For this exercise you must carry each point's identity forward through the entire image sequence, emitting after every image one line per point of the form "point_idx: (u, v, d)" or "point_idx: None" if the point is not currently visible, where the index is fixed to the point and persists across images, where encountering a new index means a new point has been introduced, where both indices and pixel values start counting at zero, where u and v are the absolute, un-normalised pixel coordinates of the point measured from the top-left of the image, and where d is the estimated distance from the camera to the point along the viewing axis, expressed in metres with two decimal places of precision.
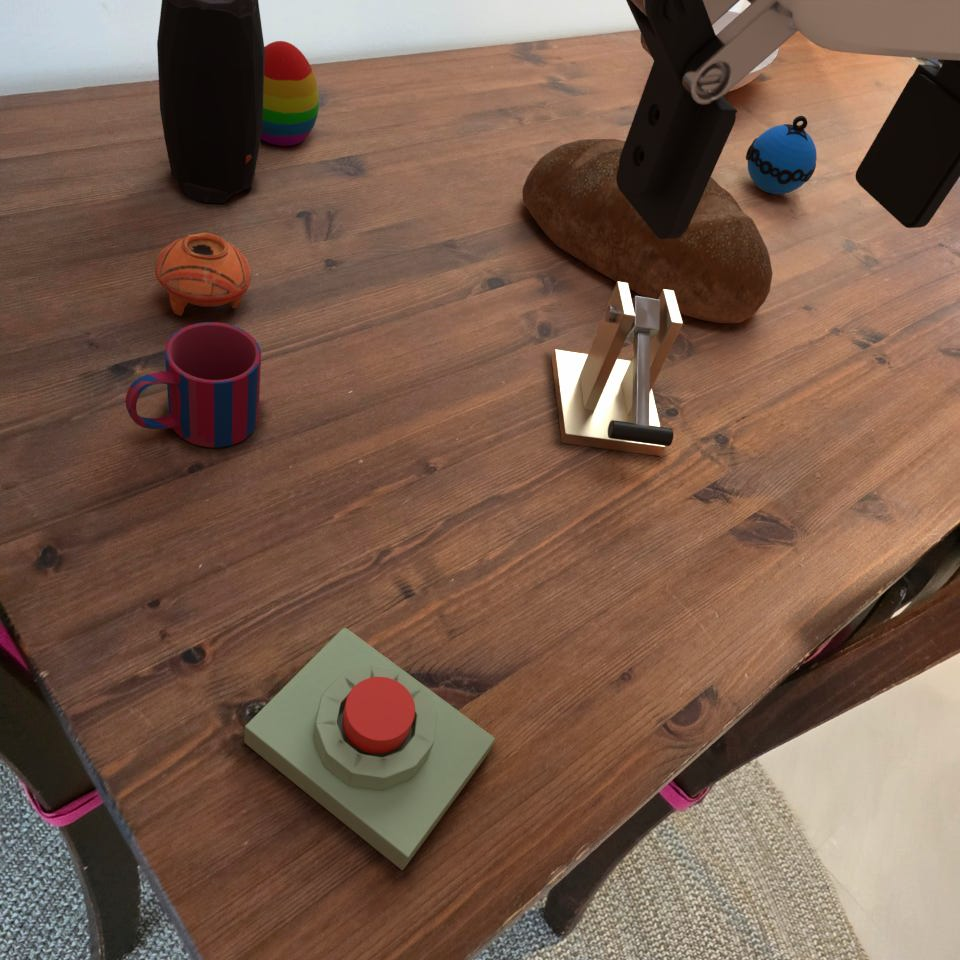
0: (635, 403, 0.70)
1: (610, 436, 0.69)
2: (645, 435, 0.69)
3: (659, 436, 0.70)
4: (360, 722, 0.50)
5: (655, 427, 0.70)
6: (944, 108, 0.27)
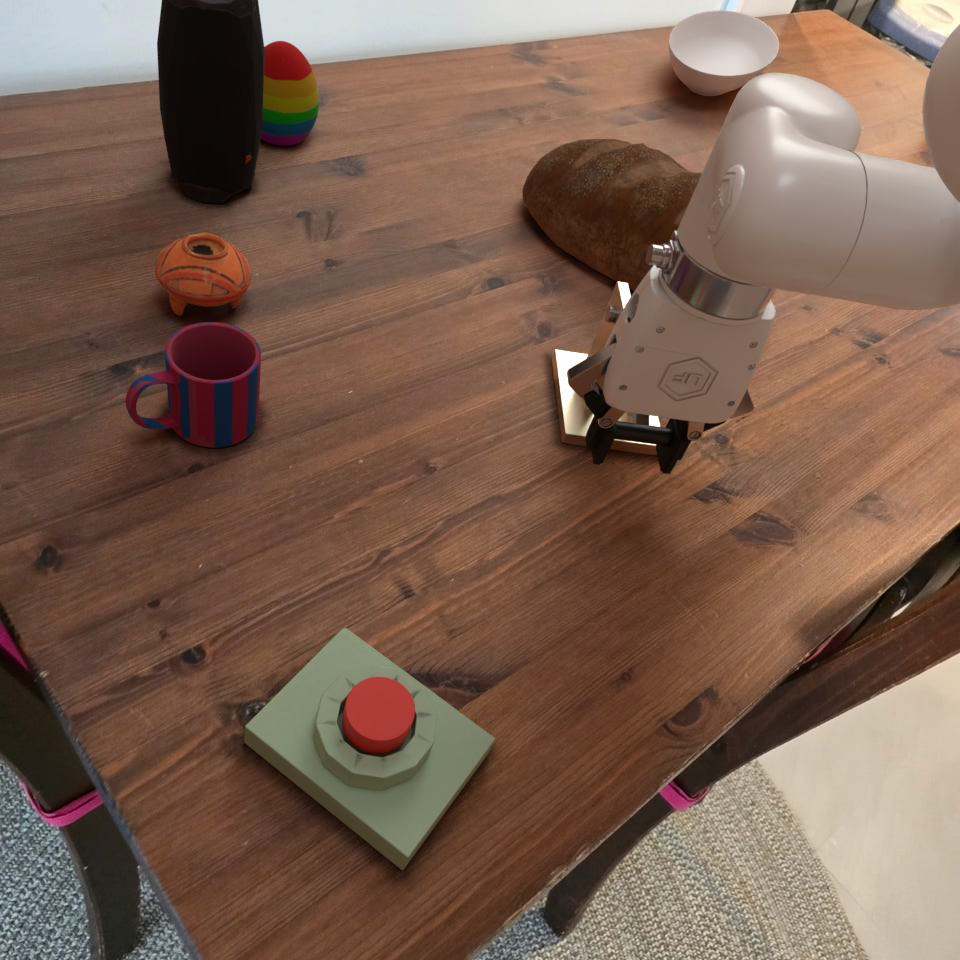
0: None
1: None
2: (645, 435, 0.69)
3: (659, 436, 0.70)
4: (360, 722, 0.50)
5: (655, 427, 0.70)
6: (674, 433, 0.70)
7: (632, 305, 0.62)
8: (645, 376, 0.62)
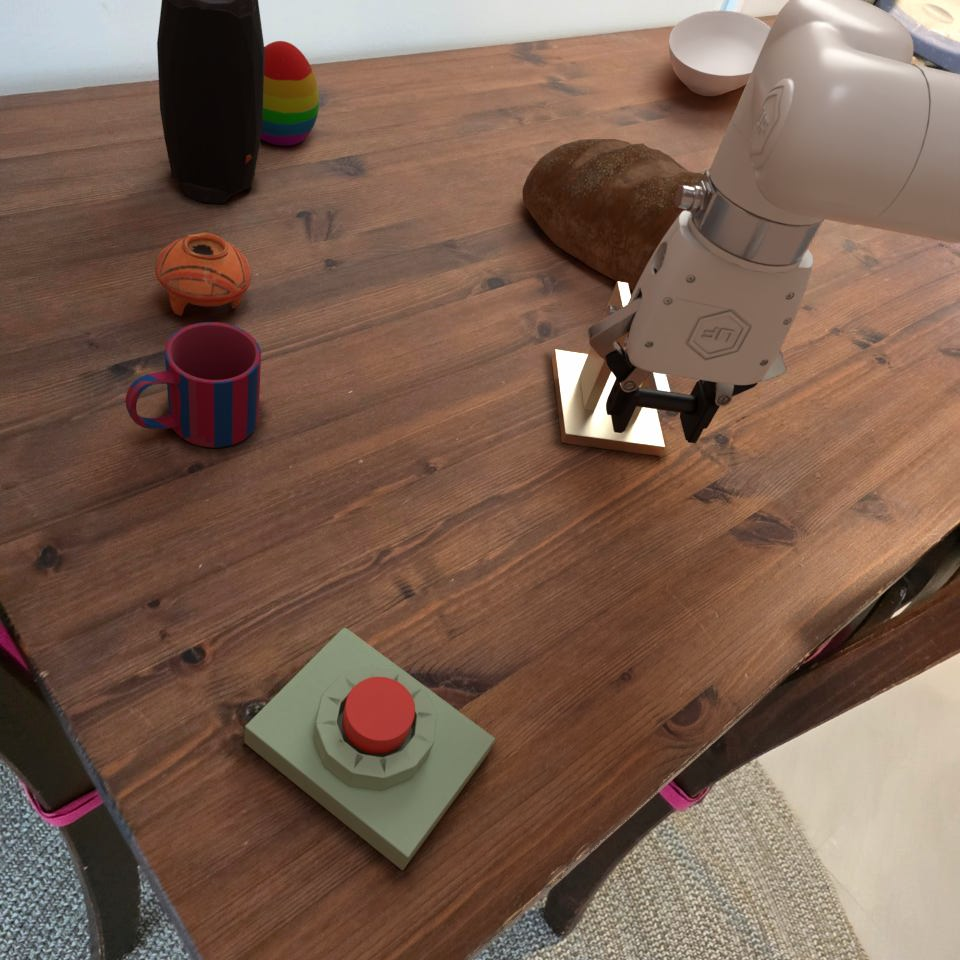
0: (652, 376, 0.68)
1: None
2: (669, 398, 0.66)
3: (684, 399, 0.66)
4: (360, 722, 0.50)
5: (677, 393, 0.66)
6: (700, 398, 0.66)
7: (659, 256, 0.58)
8: (673, 331, 0.58)
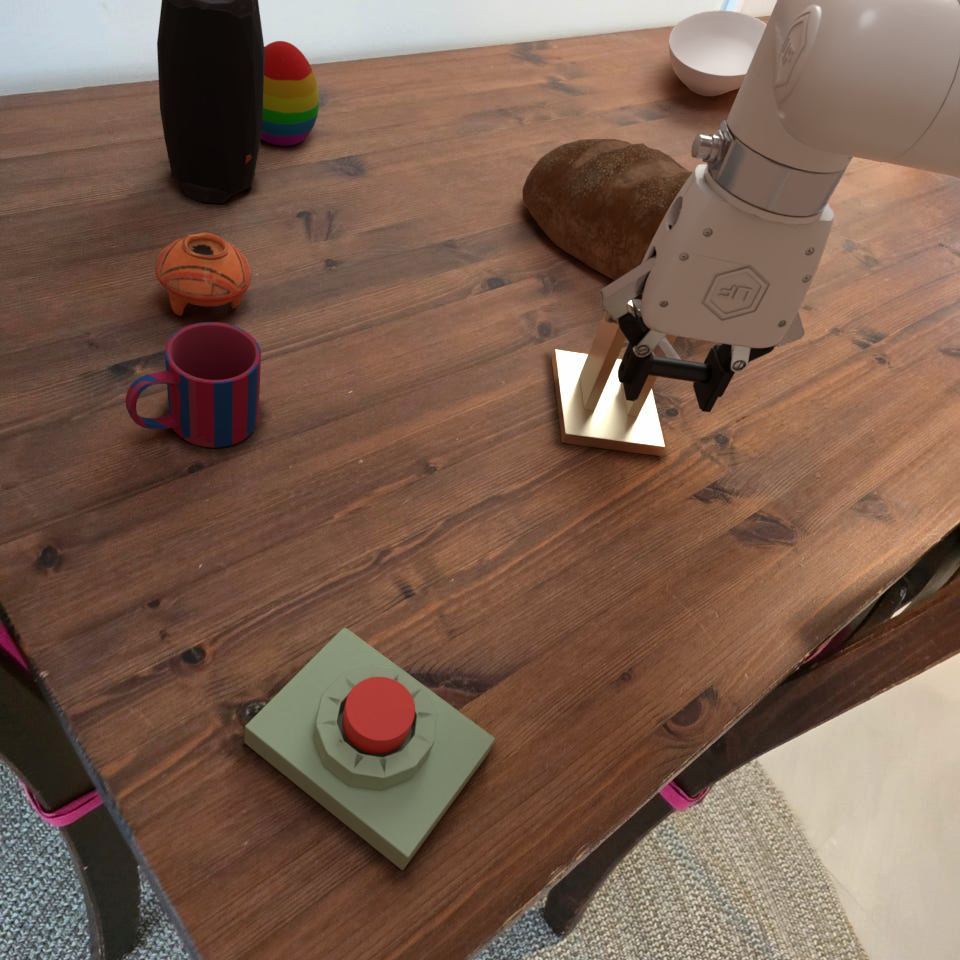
0: (661, 352, 0.66)
1: None
2: (681, 364, 0.64)
3: (696, 365, 0.64)
4: (360, 722, 0.50)
5: None
6: (715, 365, 0.64)
7: (674, 212, 0.56)
8: (689, 290, 0.56)
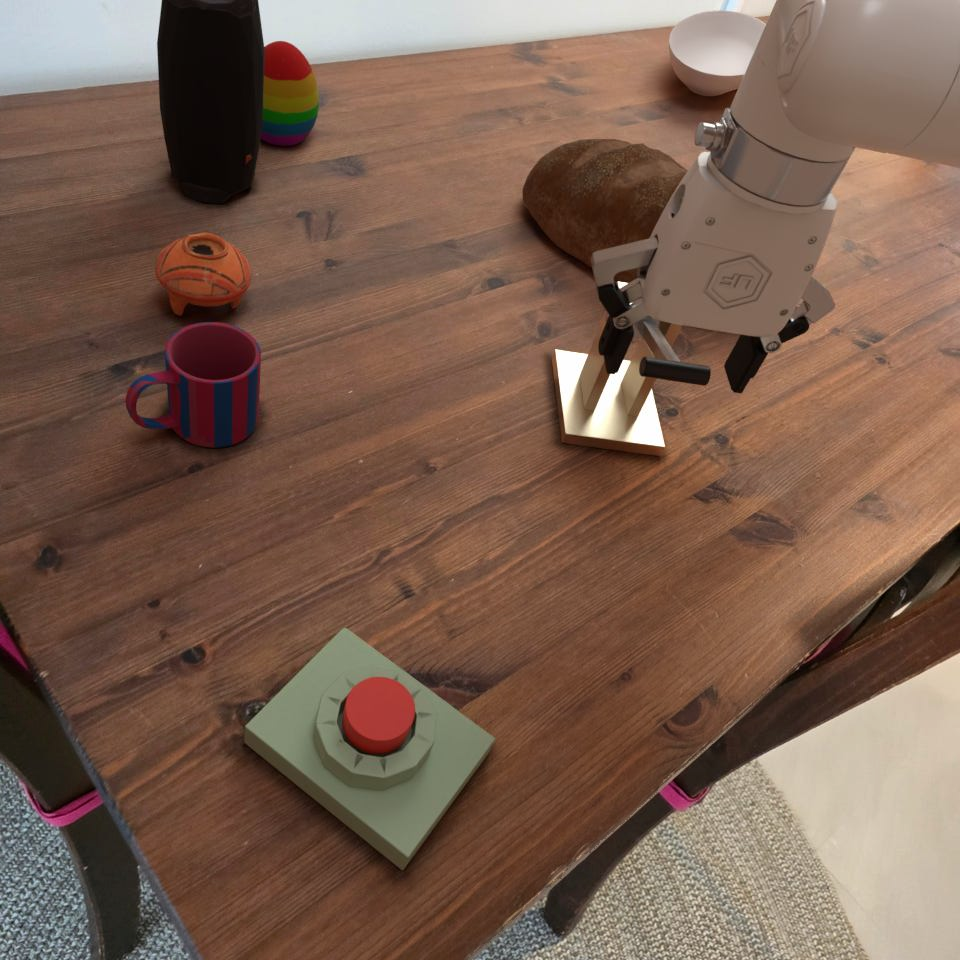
0: (660, 353, 0.66)
1: (644, 369, 0.64)
2: (681, 366, 0.64)
3: (696, 367, 0.64)
4: (360, 722, 0.50)
5: None
6: (748, 345, 0.63)
7: (676, 200, 0.56)
8: (691, 278, 0.56)
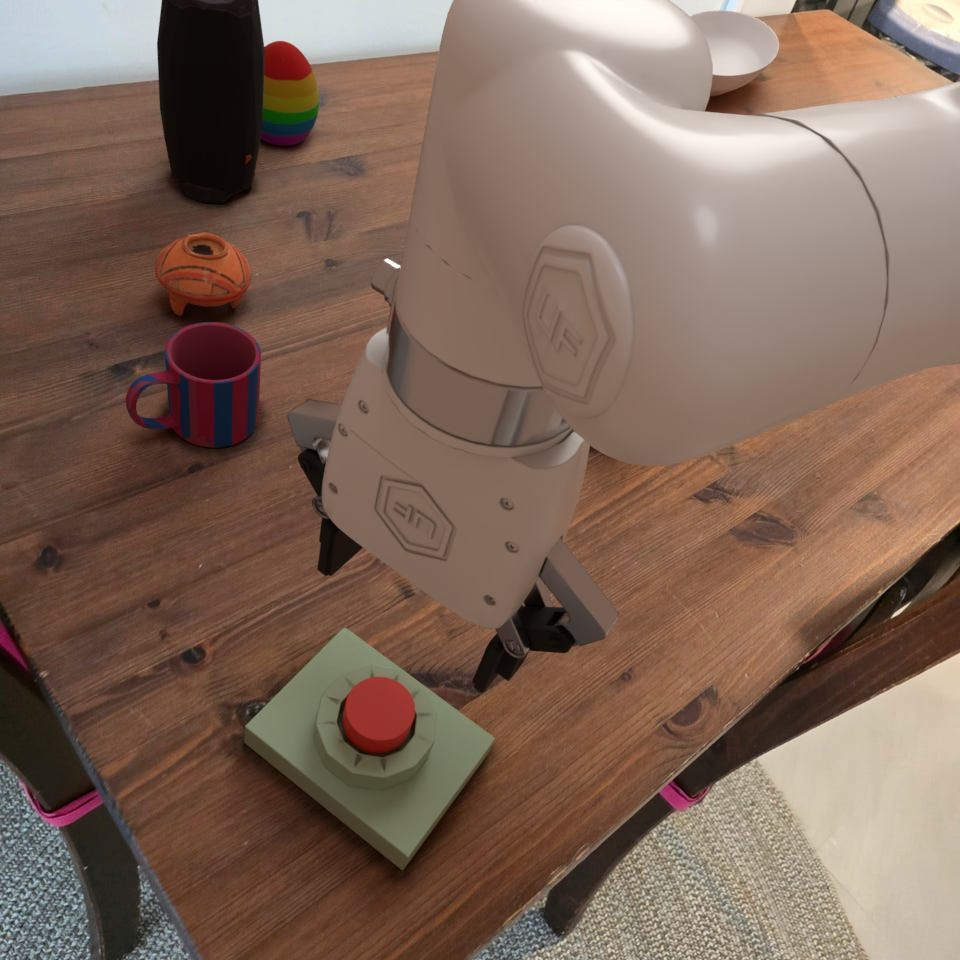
0: None
1: None
2: None
3: None
4: (360, 722, 0.50)
5: None
6: None
7: None
8: (356, 483, 0.36)
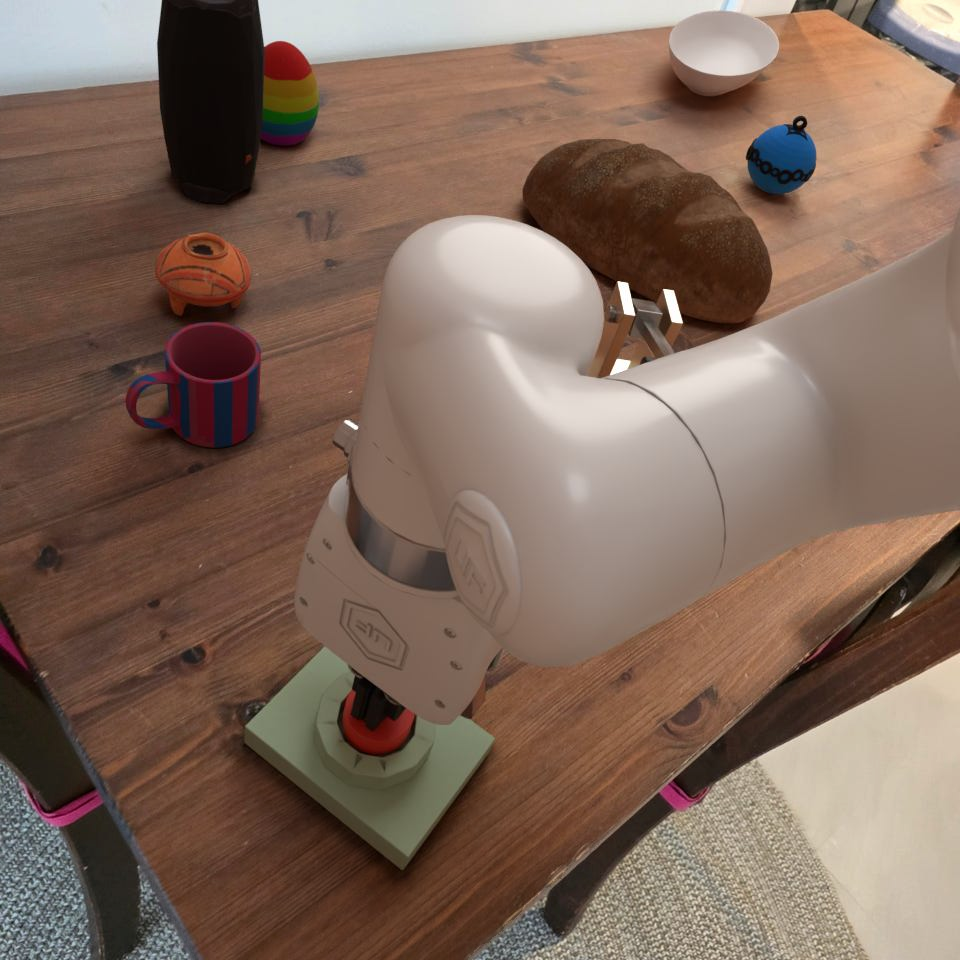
0: (660, 353, 0.66)
1: None
2: None
3: None
4: (360, 723, 0.50)
5: None
6: None
7: None
8: (323, 601, 0.42)
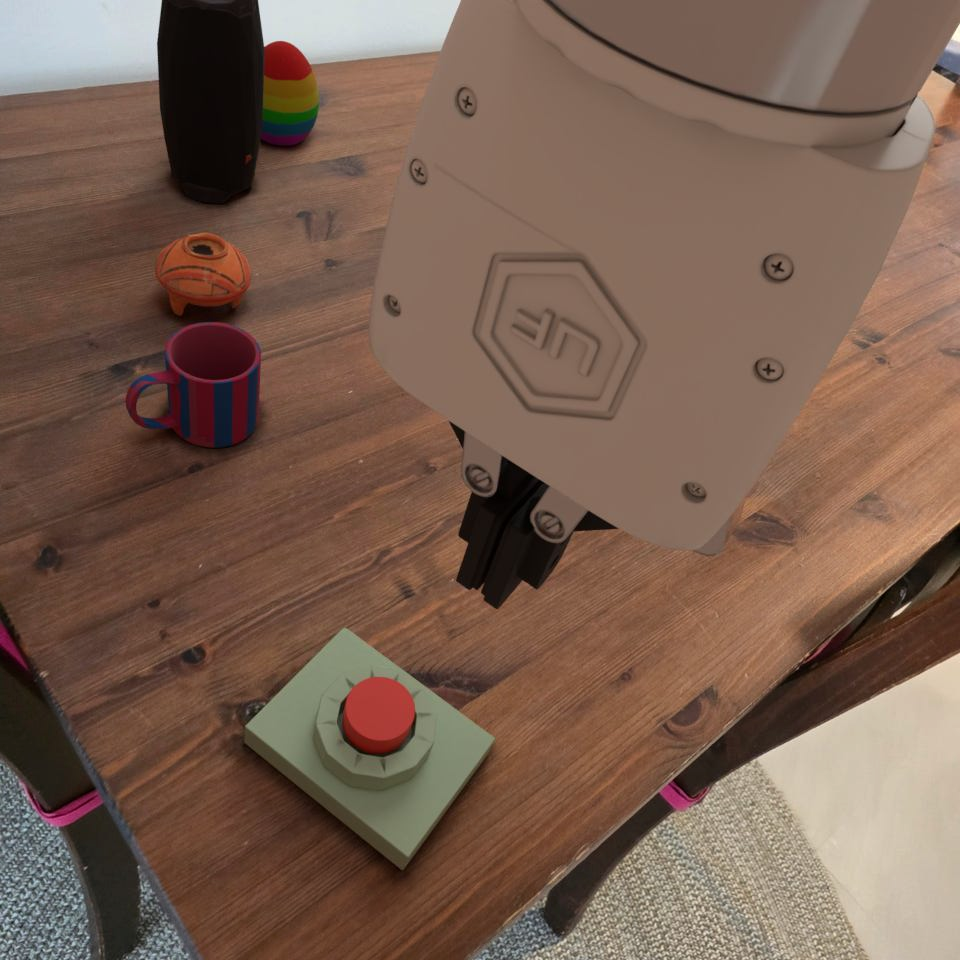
0: None
1: None
2: None
3: None
4: (360, 722, 0.50)
5: None
6: None
7: None
8: (439, 284, 0.20)
